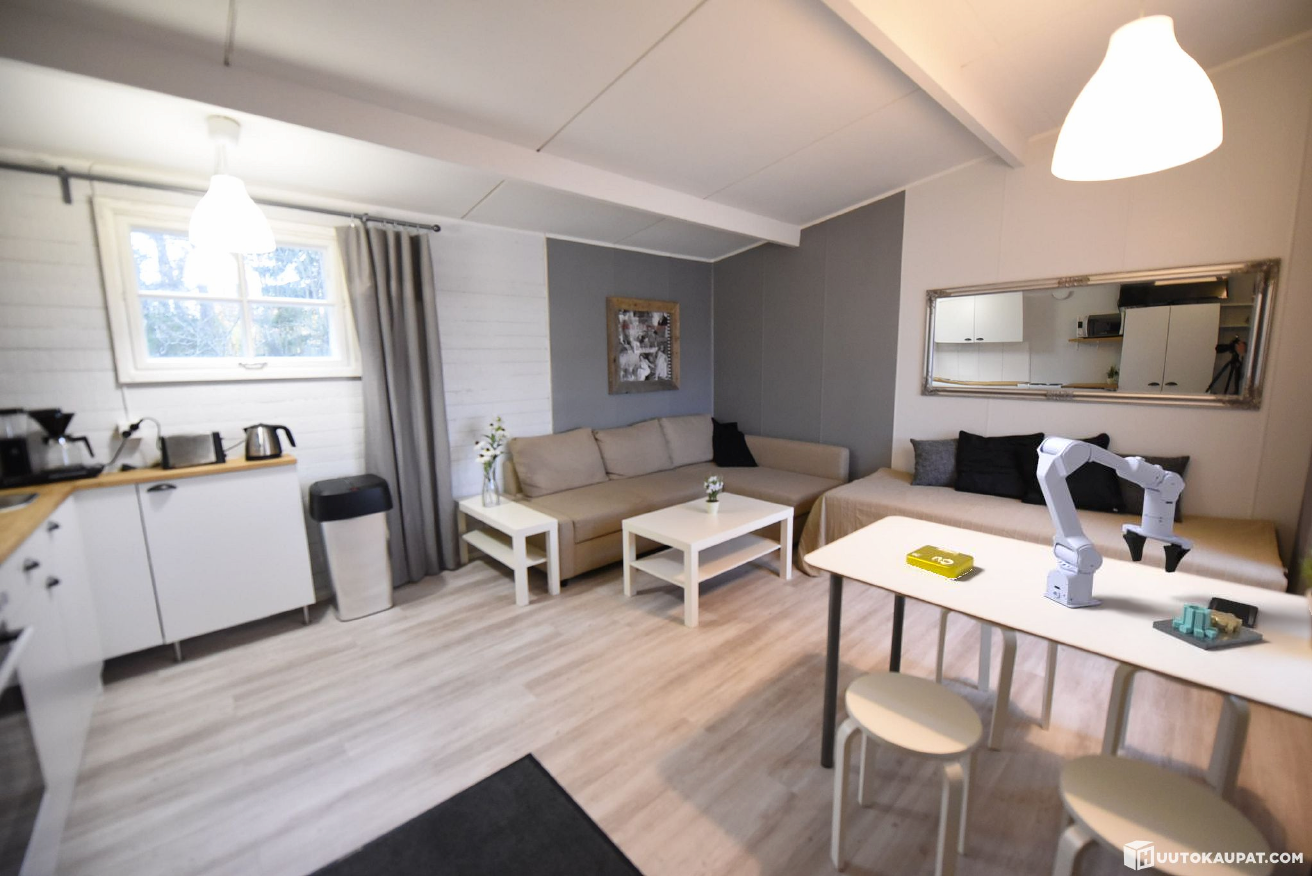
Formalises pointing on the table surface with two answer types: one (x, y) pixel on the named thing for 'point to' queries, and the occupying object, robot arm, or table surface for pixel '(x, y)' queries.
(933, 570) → the element tile
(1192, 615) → the gear
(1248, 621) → the phone
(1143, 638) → the table surface
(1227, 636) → the carrier
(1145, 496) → the robot arm
